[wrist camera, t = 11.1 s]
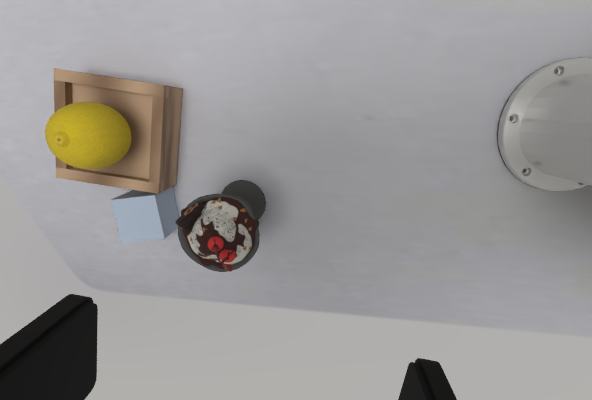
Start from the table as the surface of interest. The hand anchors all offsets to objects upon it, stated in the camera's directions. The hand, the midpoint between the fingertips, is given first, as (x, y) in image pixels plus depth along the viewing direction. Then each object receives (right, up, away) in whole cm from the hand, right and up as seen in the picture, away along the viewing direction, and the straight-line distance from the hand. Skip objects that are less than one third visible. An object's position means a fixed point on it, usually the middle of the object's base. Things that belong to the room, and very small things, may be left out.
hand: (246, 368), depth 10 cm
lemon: (-15, +11, +23) cm, 30 cm away
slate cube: (-14, +4, +28) cm, 32 cm away
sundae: (-4, +5, +28) cm, 29 cm away
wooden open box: (-16, +12, +26) cm, 33 cm away
